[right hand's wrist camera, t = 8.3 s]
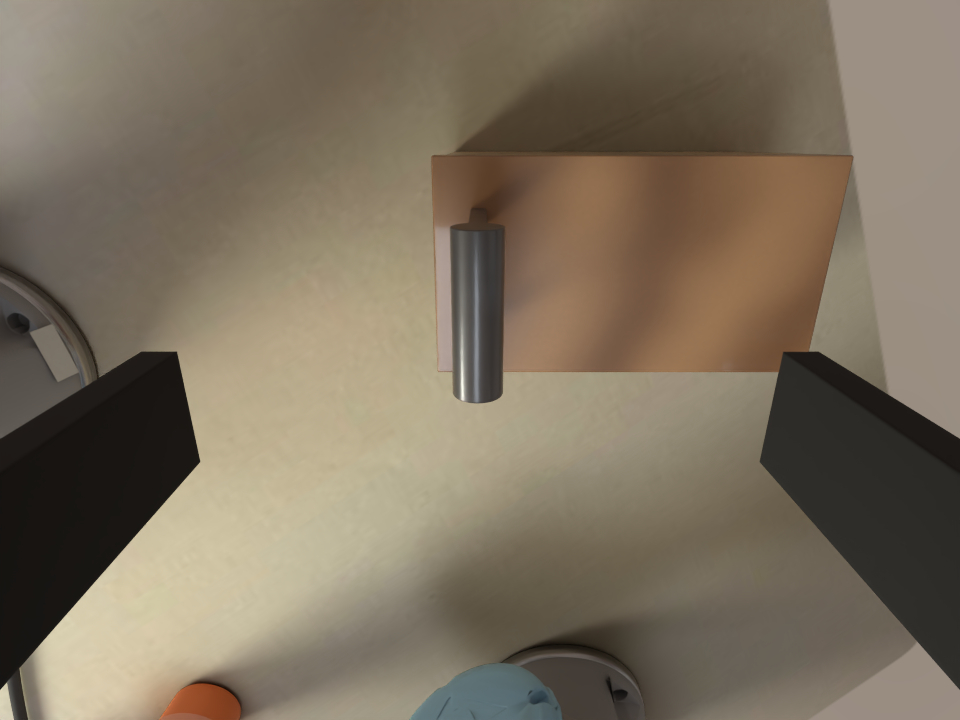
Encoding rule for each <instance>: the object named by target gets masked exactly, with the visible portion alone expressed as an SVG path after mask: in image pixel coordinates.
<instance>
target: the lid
mask: <svg viewBox="0 0 960 720" xmlns="http://www.w3.org/2000/svg"><path fill="white" fill-rule="evenodd" d="M852 161H853V156H852V155H433V156H432V157H431V165H432V198H433V232H434V265H435V298H436V331H437V365H438V372H453V394H454V396H455V397H456V398H457V399H459V400H461V401H464V402H469V403H487V402H491V401H494V400H497V399H498V398H500V397H501V396H502V394H503V372H779V369H780V364H781V359H782V355H783V352H809V348H810V344H811V339H812V335H813V331H814V326H815V322H816V318H817V313H818V309H819V304H820V300H821V296H822V291H823V287H824V283H825V278H826V274H827V270H828V265H829V261H830V257H831V252H832V248H833V244H834V239H835V235H836V231H837V226H838V222H839V218H840V213H841V209H842V204H843V200H844V196H845V191H846V187H847V183H848V178H849V174H850V170H851V165H852Z"/></svg>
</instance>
